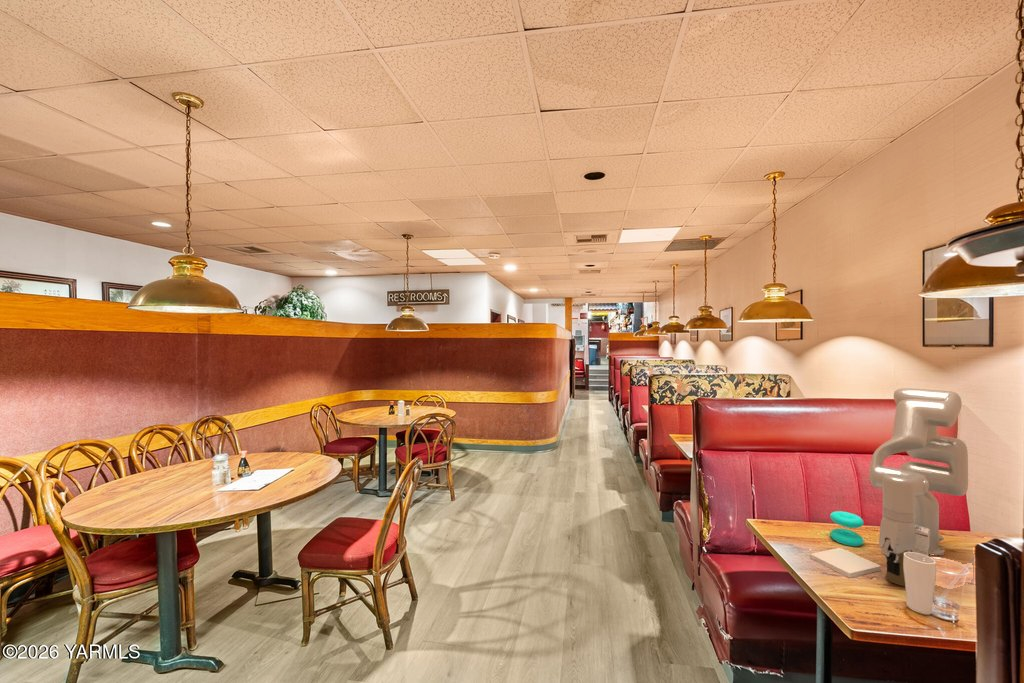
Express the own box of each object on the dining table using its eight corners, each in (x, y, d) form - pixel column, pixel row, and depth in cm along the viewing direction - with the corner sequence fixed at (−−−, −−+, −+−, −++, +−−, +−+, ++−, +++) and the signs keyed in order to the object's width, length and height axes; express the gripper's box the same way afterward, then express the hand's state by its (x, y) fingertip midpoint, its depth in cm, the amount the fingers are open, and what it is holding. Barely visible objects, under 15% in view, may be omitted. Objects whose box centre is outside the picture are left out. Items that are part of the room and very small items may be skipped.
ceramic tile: (840, 551, 153) (840, 547, 153) (880, 570, 140) (880, 565, 140) (810, 558, 148) (810, 553, 148) (849, 578, 136) (849, 573, 136)
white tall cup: (896, 602, 123) (896, 551, 123) (917, 601, 123) (917, 551, 123) (920, 618, 116) (921, 564, 116) (943, 616, 117) (943, 563, 117)
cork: (916, 586, 129) (916, 551, 129) (893, 584, 130) (893, 549, 130) (902, 575, 135) (902, 542, 135) (880, 573, 136) (880, 540, 136)
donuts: (854, 511, 165) (869, 522, 155) (854, 536, 165) (869, 549, 155) (825, 508, 167) (838, 519, 157) (825, 534, 167) (838, 545, 157)
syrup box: (905, 564, 144) (905, 522, 144) (929, 571, 140) (929, 528, 140) (904, 571, 140) (904, 527, 140) (929, 578, 136) (929, 533, 136)
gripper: (901, 506, 139) (901, 561, 139) (866, 513, 133) (866, 570, 134) (930, 515, 132) (930, 573, 132) (894, 523, 126) (894, 583, 127)
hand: (898, 571), depth 133 cm, fingers closed on cork, 4 cm apart
